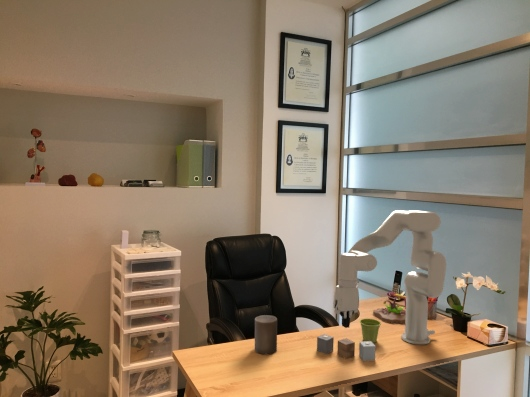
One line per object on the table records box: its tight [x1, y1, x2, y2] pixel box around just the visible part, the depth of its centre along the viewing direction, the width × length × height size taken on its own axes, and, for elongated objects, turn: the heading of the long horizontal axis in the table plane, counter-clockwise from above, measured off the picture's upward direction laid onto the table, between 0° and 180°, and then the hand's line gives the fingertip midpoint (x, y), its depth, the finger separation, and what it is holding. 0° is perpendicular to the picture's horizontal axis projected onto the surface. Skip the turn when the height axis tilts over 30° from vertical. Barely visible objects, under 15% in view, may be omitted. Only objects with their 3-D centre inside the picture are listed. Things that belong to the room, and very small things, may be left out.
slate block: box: [358, 340, 376, 362], centre depth 172 cm, size 5×5×6 cm
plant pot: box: [359, 318, 382, 344], centre depth 190 cm, size 9×9×9 cm
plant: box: [372, 296, 406, 325], centre depth 223 cm, size 20×20×11 cm
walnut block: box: [336, 337, 356, 360], centre depth 174 cm, size 5×5×6 cm
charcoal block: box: [316, 333, 334, 355], centre depth 178 cm, size 5×5×6 cm
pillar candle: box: [254, 314, 278, 355], centre depth 178 cm, size 10×10×15 cm
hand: (345, 326), depth 173 cm, fingers closed
